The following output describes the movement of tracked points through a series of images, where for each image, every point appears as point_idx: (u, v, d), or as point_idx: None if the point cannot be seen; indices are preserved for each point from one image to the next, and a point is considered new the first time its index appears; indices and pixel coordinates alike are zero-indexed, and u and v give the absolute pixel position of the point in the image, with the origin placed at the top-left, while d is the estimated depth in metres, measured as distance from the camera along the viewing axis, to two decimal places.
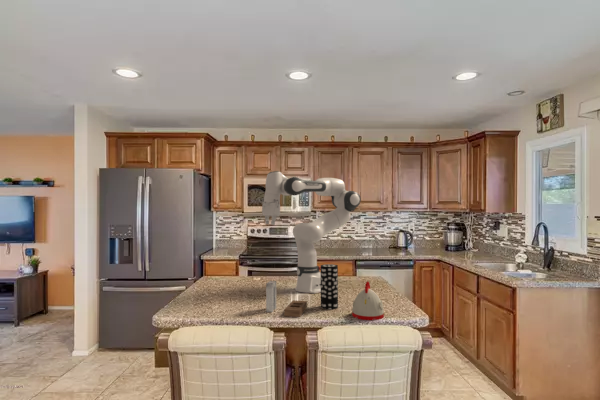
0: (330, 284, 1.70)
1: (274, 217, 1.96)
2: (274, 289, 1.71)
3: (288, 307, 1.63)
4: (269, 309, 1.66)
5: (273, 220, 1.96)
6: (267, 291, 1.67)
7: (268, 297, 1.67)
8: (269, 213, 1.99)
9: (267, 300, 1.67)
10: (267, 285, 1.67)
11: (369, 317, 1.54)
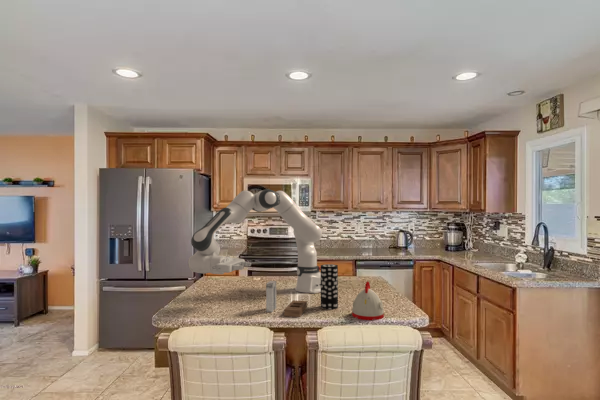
0: (330, 284, 1.70)
1: (233, 267, 1.67)
2: (274, 289, 1.71)
3: (288, 307, 1.63)
4: (269, 309, 1.66)
5: (237, 268, 1.67)
6: (267, 291, 1.67)
7: (268, 297, 1.67)
8: None
9: (267, 300, 1.67)
10: (267, 285, 1.67)
11: (369, 317, 1.54)
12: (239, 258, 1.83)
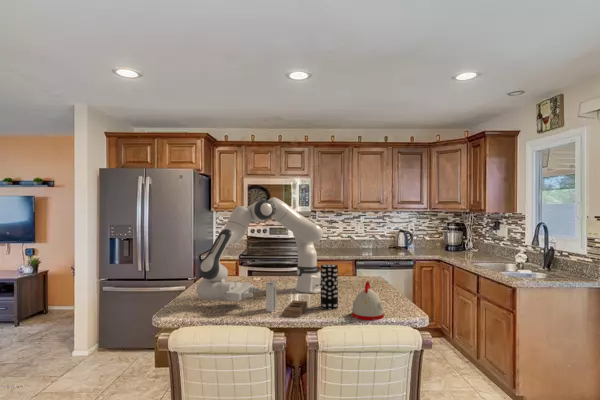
0: (330, 284, 1.70)
1: (243, 295, 1.66)
2: (274, 289, 1.71)
3: (288, 307, 1.63)
4: (269, 309, 1.66)
5: (247, 295, 1.66)
6: (267, 291, 1.67)
7: (268, 297, 1.67)
8: None
9: (267, 300, 1.67)
10: (267, 285, 1.67)
11: (369, 317, 1.54)
12: (248, 283, 1.82)
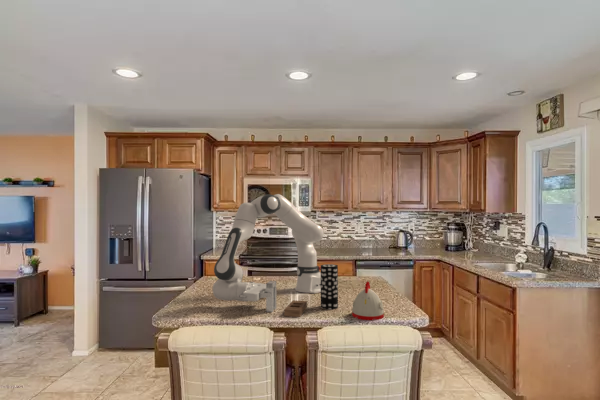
0: (330, 284, 1.70)
1: (261, 295, 1.65)
2: (274, 289, 1.71)
3: (288, 307, 1.63)
4: (269, 309, 1.66)
5: (265, 295, 1.65)
6: (267, 291, 1.67)
7: (268, 297, 1.67)
8: None
9: (267, 299, 1.67)
10: (267, 285, 1.67)
11: (369, 317, 1.54)
12: None
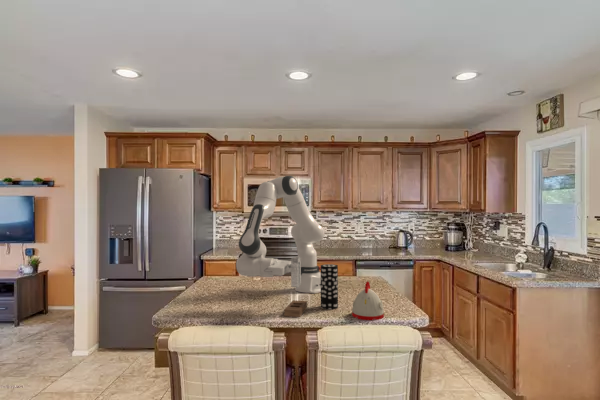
0: (330, 284, 1.70)
1: (286, 270, 1.62)
2: (299, 265, 1.69)
3: (288, 307, 1.63)
4: (294, 284, 1.64)
5: (290, 270, 1.63)
6: (292, 266, 1.65)
7: (293, 272, 1.64)
8: None
9: (292, 275, 1.64)
10: (292, 260, 1.65)
11: (369, 317, 1.54)
12: None
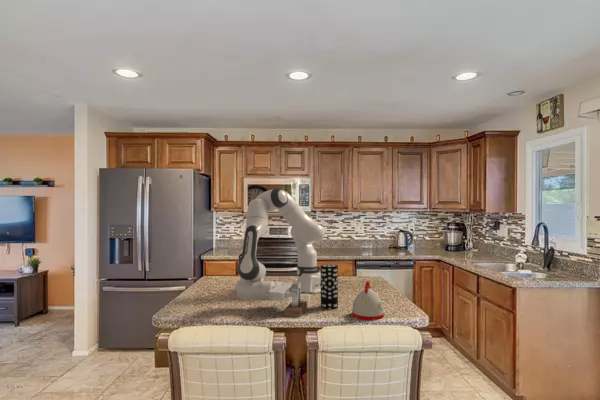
0: (330, 284, 1.70)
1: (286, 295, 1.61)
2: (299, 290, 1.69)
3: (288, 307, 1.63)
4: None
5: (290, 295, 1.62)
6: None
7: (293, 298, 1.64)
8: None
9: (292, 301, 1.64)
10: (292, 286, 1.64)
11: (369, 317, 1.54)
12: None
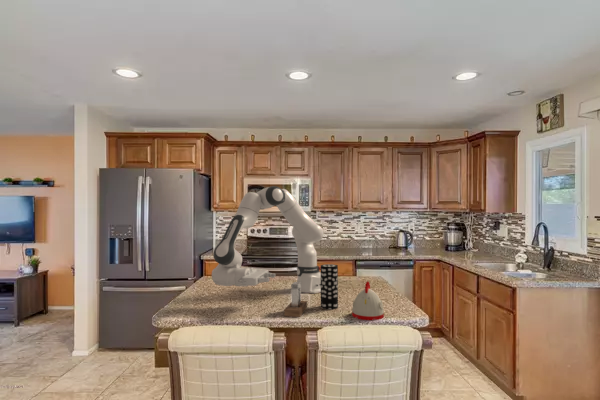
0: (330, 284, 1.70)
1: (259, 280, 1.65)
2: (299, 290, 1.69)
3: (288, 307, 1.63)
4: None
5: (263, 280, 1.65)
6: (292, 292, 1.64)
7: (293, 298, 1.64)
8: None
9: (292, 301, 1.64)
10: (292, 286, 1.64)
11: (369, 317, 1.54)
12: (263, 269, 1.81)
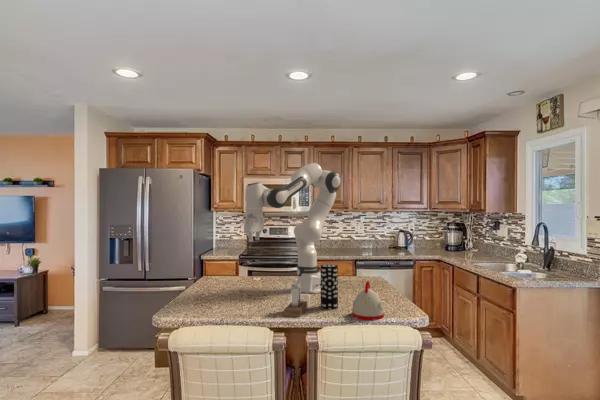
0: (330, 284, 1.70)
1: (249, 234, 1.79)
2: (299, 290, 1.69)
3: (288, 307, 1.63)
4: None
5: (249, 237, 1.80)
6: (292, 292, 1.64)
7: (293, 298, 1.64)
8: None
9: (292, 301, 1.64)
10: (292, 286, 1.64)
11: (369, 317, 1.54)
12: (263, 225, 1.94)
